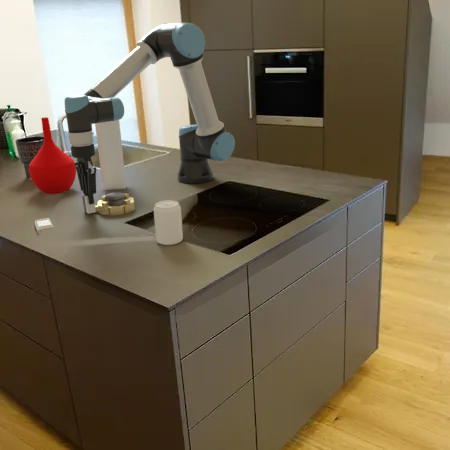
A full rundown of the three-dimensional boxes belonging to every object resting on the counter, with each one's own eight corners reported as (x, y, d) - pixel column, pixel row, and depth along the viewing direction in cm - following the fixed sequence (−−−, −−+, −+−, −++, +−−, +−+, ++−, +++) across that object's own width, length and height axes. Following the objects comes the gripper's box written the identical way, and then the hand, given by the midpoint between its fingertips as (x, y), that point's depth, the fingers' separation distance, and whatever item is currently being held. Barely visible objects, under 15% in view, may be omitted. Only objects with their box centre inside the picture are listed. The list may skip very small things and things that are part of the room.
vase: (60, 182, 226) (49, 113, 215) (88, 188, 216) (78, 115, 205) (23, 193, 212) (10, 119, 201) (51, 200, 202) (39, 123, 191)
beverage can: (156, 237, 162) (153, 200, 158) (182, 235, 163) (180, 198, 158) (155, 247, 155) (152, 209, 150) (183, 245, 155) (180, 207, 151)
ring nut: (133, 202, 191) (131, 186, 189) (135, 213, 179) (134, 196, 177) (84, 207, 187) (82, 191, 185) (84, 218, 176) (81, 201, 174)
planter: (15, 181, 230) (8, 141, 224) (36, 173, 241) (29, 135, 235) (39, 183, 226) (32, 142, 219) (58, 175, 237) (52, 136, 230)
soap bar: (38, 235, 168) (37, 227, 167) (35, 226, 176) (34, 219, 175) (54, 232, 170) (53, 224, 169) (50, 224, 178) (49, 216, 177)
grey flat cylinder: (147, 205, 192) (145, 187, 189) (135, 224, 173) (133, 205, 171) (88, 206, 193) (86, 188, 191) (70, 225, 175) (67, 206, 172)
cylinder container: (121, 192, 209) (112, 116, 198) (99, 191, 211) (89, 117, 200) (129, 185, 217) (122, 113, 207) (108, 185, 219) (100, 113, 209)
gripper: (101, 145, 167) (109, 214, 175) (85, 139, 177) (93, 205, 185) (78, 148, 163) (88, 219, 171) (63, 143, 173) (73, 210, 181)
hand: (91, 212), depth 178 cm, fingers closed
